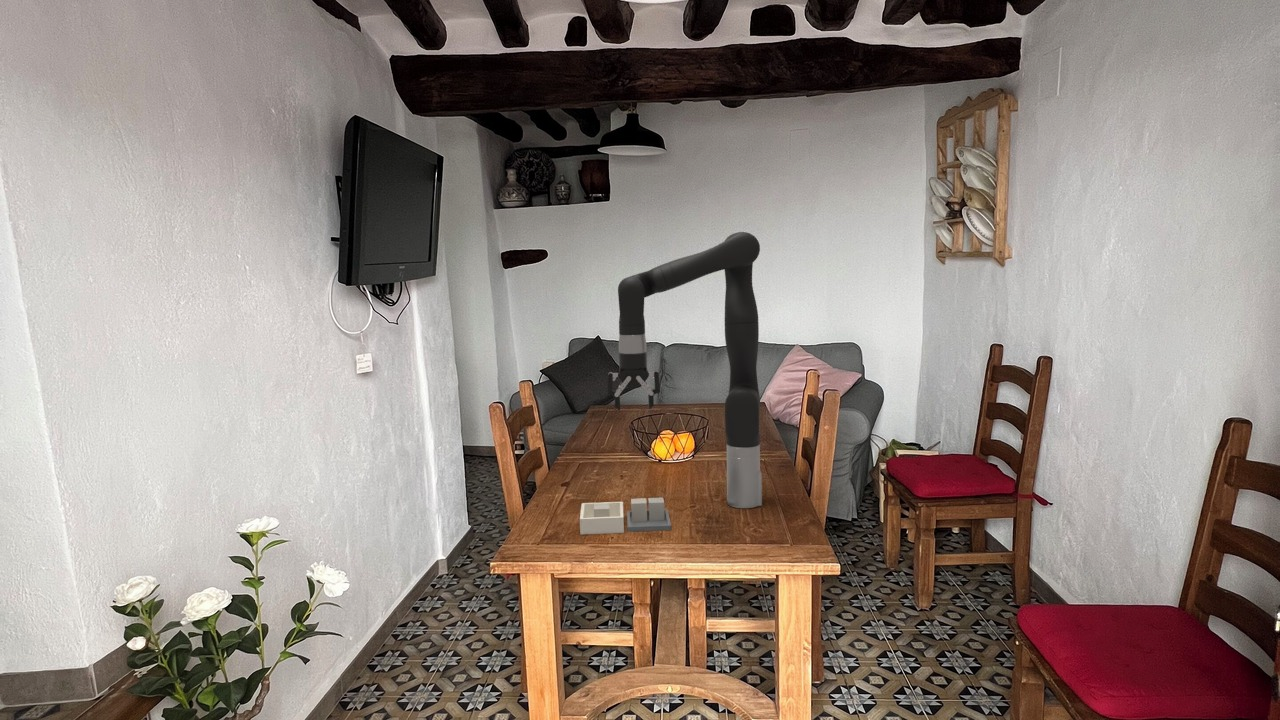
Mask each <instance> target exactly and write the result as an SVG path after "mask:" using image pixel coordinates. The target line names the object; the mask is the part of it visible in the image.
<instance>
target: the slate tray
mask: <svg viewBox="0 0 1280 720" xmlns="http://www.w3.org/2000/svg"><path fill="white" fill-rule="evenodd" d="M664 515H665V521H649V509H647V521H646V522H632V515H631V510H626V518H627V519H626V521H627V522H626V524H627V532H628V533H630V532H631V533H633V532H635V533H636V532H657V531H658V532H659V531H672V523H671V520H670V515H669V510H668V509H665V508H664Z"/></svg>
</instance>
